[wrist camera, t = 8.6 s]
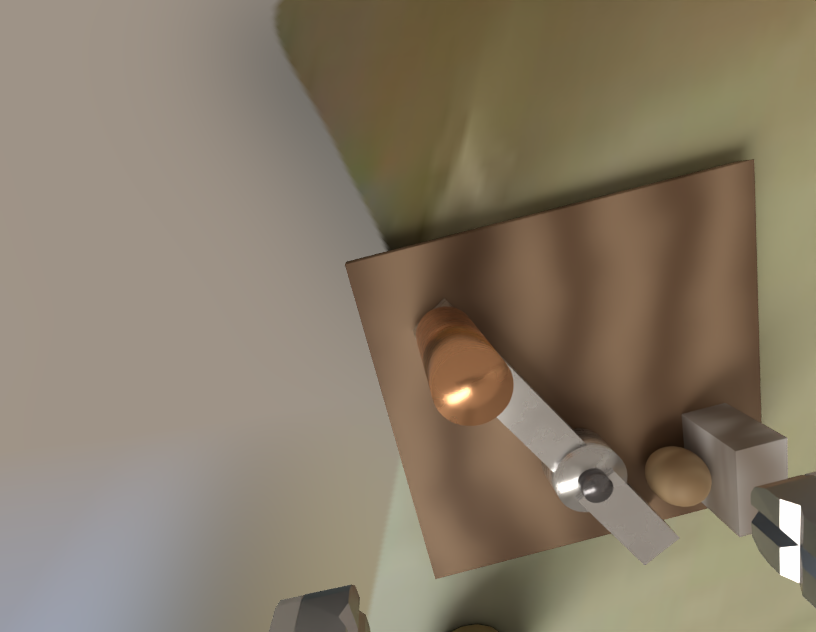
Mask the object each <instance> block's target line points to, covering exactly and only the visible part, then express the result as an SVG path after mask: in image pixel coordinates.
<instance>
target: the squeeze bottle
mask: <svg viewBox="0 0 816 632" xmlns="http://www.w3.org/2000/svg"><path fill="white" fill-rule="evenodd" d="M452 632H499V631H497V630H495V629H494V628H492V627H489V626H484V625H478V624H475V625H469V626H462V627H460V628H458V629H456V630H454V631H452Z"/></svg>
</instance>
